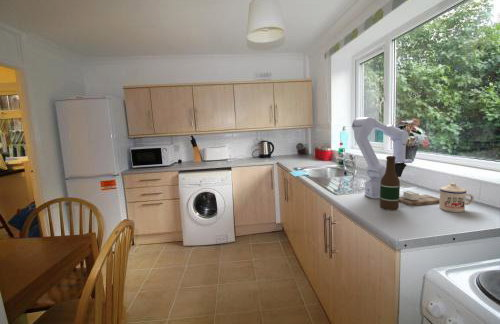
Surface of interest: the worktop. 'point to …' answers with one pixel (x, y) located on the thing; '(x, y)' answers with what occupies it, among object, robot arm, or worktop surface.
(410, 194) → the fader tab
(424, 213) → the worktop surface
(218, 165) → the worktop surface
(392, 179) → the beer bottle
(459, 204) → the teacup with lid
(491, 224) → the worktop surface
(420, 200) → the console board
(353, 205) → the worktop surface
